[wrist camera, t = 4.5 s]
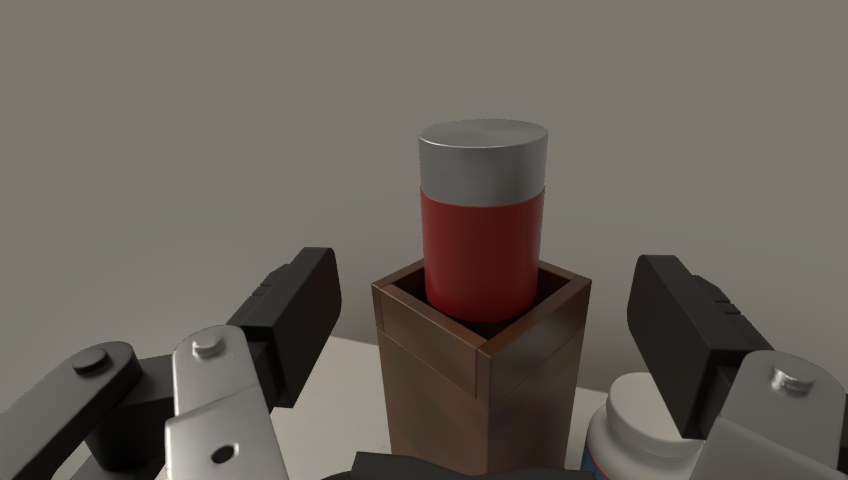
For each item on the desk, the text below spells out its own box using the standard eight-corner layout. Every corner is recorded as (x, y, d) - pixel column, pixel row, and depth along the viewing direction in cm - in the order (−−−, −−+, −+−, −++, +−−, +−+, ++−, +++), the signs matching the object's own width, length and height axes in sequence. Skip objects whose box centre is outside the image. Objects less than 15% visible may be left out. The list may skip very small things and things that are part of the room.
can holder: (561, 484, 30) (592, 279, 22) (484, 580, 25) (491, 358, 17) (472, 416, 36) (473, 233, 28) (394, 483, 31) (370, 283, 23)
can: (554, 325, 24) (575, 127, 19) (486, 380, 20) (491, 155, 15) (474, 286, 28) (475, 114, 23) (406, 327, 24) (390, 134, 19)
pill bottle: (629, 610, 23) (673, 479, 18) (552, 511, 28) (569, 387, 23) (699, 552, 26) (754, 422, 21) (616, 470, 31) (645, 349, 26)
